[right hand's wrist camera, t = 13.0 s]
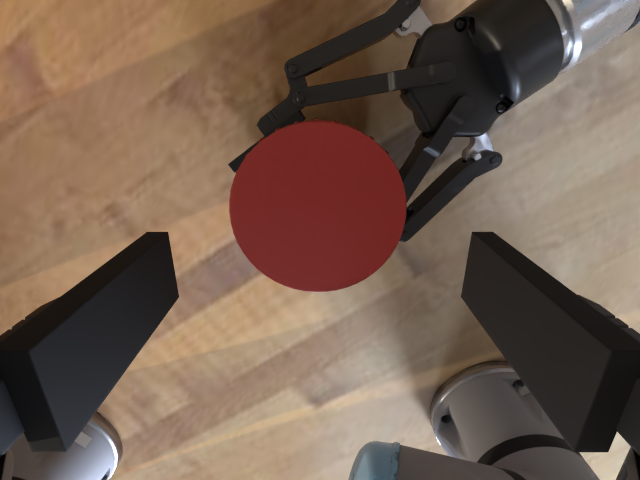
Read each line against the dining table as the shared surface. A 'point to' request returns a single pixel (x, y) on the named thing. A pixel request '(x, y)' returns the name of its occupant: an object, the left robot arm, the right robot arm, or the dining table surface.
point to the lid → (317, 206)
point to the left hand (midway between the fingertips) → (272, 212)
